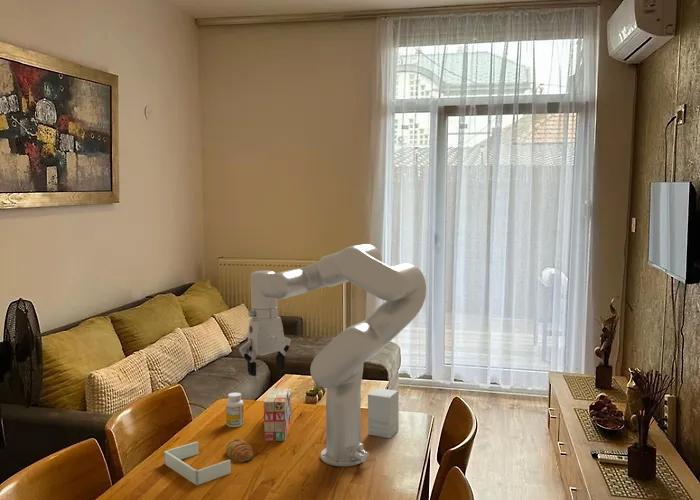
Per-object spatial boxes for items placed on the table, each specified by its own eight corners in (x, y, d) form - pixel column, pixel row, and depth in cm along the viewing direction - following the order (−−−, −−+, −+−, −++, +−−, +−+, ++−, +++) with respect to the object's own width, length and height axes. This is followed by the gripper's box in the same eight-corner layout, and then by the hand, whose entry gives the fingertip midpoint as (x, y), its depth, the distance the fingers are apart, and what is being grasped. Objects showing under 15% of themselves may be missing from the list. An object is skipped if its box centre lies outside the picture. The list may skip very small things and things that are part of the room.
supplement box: (399, 430, 193) (399, 390, 192) (389, 439, 187) (389, 397, 186) (377, 426, 197) (377, 387, 196) (367, 434, 190) (367, 393, 189)
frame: (230, 473, 164) (230, 460, 164) (196, 485, 157) (196, 471, 157) (197, 453, 177) (197, 441, 176) (164, 463, 170) (163, 451, 170)
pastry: (259, 459, 173) (258, 446, 173) (236, 465, 169) (235, 452, 169) (245, 448, 181) (245, 435, 180) (223, 453, 177) (222, 440, 177)
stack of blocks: (272, 416, 207) (272, 379, 206) (292, 416, 207) (291, 379, 206) (264, 441, 185) (263, 401, 184) (285, 441, 185) (284, 400, 184)
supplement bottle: (235, 420, 203) (234, 390, 202) (247, 423, 200) (246, 393, 199) (222, 425, 198) (222, 394, 198) (234, 428, 195) (234, 398, 194)
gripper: (245, 319, 173) (248, 380, 174) (296, 311, 184) (298, 368, 186) (231, 316, 179) (233, 375, 180) (281, 308, 190) (283, 363, 191)
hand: (266, 371), depth 183 cm, fingers open, 9 cm apart
